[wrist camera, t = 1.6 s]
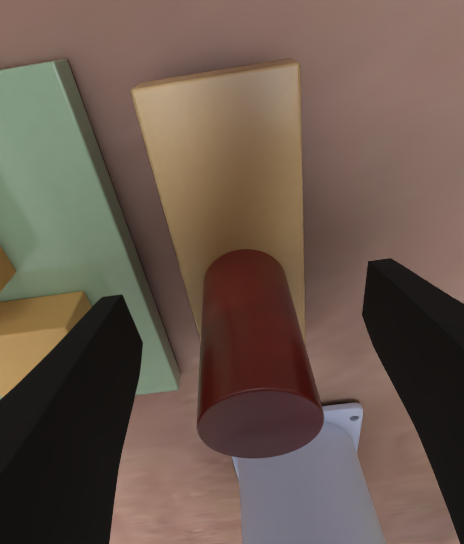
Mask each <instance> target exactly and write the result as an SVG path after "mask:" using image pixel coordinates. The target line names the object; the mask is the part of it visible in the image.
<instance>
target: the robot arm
mask: <svg viewBox="0 0 464 544" xmlns="http://www.w3.org/2000/svg"><path fill="white" fill-rule="evenodd" d="M362 316H363V319H364V322H365V325H366V328H367V331H368V333H369V336H370V339H371V341H372V344H373V346H374V348H375V350H376V352H377V354H378V356H379V358H380V360H381V362H382V364H383V366H384V368H385V370H386V372H387V374H388V376H389V378H390V380H391V381H392V383H393V385H394V387H395V389H396V391H397V393H398V395H399V397H400V399H401V400H402V402H403V404H404V406H405V408H406V410H407V412H408V414H409V416H410V418H411V420H412V422H413V424H414V426H415V428H416V430H417V432H418V435H419V437H420V439H421V442H422V444H423V447H424V449H425V452H426V454H427V457H428V459H429V462H430V464H431V467H432V469H433V471H434V474H435V477H436V479H437V482H438V484H439V487H440V490H441V492H442V495H443V498H444V500H445V503H446V505H447V508H448V511H449V513H450V516H451V519H452V522H453V524H454V527H455V530H456V533H457V536H458V538H459V541H460V544H464V304H463V303H461V302H460V301H458V300H456V299H455V298H453V297H451V296H450V295H448V294H446V293H445V292H443V291H442V290H440V289H438V288H437V287H435V286H434V285H432V284H431V283H429V282H427V281H426V280H424V279H423V278H421V277H420V276H418V275H417V274H415V273H414V272H412V271H410V270H409V269H407V268H406V267H404V266H403V265H401V264H399V263H398V262H396V261H394V260H393V259H391V258H389V259H382V260H374V261H368V268H367V277H366V286H365V294H364V303H363V312H362ZM142 349H143V342H142V339H141V337H140V334H139V332H138V330H137V327H136V325H135V323H134V320H133V318H132V316H131V313H130V311H129V309H128V306H127V304H126V302H125V299H124V297H123V295H122V294H120V295H113V296H106V297H101V298H100V299H99V300H98V301H97V302H96V303H95V304H94V305H93V306H92V307H91V309H90V310H89V311H88V312H87V313H86V314H85V315H84V316H83V317H82V318H81V319H80V320H79V321H78V323H77V324H76V325H75V326H74V327H73V328H72V329H71V330H70V331H69V332H68V333H67V334H66V335H65V337H64V338H63V339H62V340H61V341H60V342H59V343H58V344H57V345H56V346H55V347H54V348H53V349H52V350H51V351H50V352H49V353H48V354H47V355H46V356H45V357H44V358H43V359H42V360H41V361H40V362H39V363H38V364H37V365H36V366H35V367H34V368H33V369H32V370H31V371H30V372H29V373H28V374H27V375H26V376H25V377H24V378H23V379H22V380H21V381H20V382H19V383H18V384H17V385H16V386H15V387H14V388H13V389H11V390H10V391H9V392H8V393H7V394H6V395H5V396H4V397H3V398H1V399H0V544H109V540H110V532H111V523H112V514H113V506H114V498H115V491H116V484H117V476H118V469H119V464H120V459H121V453H122V449H123V444H124V440H125V436H126V432H127V428H128V424H129V419H130V415H131V411H132V407H133V403H134V398H135V394H136V390H137V385H138V381H139V376H140V369H141V360H142ZM322 409H323V413H324V423H323V427H322V429H321V431H320V433H319V434H318V435H317V436H316V438H314V439H313V440H312V441H311V442H310V443H308V444H307V445H305V446H303V447H302V448H300V449H298V450H295V451H293V452H290V453H287V454H284V455H280V456H275V457H269V458H257V459H250V458H238V457H233V456H232V460H233V463H234V467H235V470H236V474H237V477H238V481H239V490H240V510H241V530H242V544H386V542H385V539H384V535H383V532H382V529H381V526H380V523H379V520H378V517H377V514H376V511H375V508H374V505H373V502H372V499H371V496H370V493H369V490H368V486H367V483H366V480H365V477H364V474H363V471H362V468H361V465H360V462H359V459H358V456H357V450H358V444H359V437H360V431H361V424H362V417H363V409H362V406H361V405H360V404H359V403H345V404H336V405H328V406H322Z"/></svg>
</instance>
